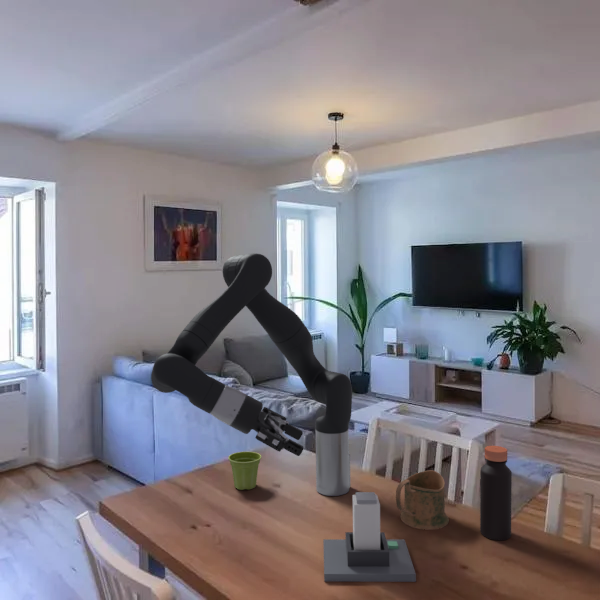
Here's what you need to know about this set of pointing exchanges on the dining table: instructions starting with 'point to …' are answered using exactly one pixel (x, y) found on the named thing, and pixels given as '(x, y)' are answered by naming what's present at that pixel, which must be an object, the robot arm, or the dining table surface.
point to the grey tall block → (366, 521)
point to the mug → (423, 501)
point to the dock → (367, 561)
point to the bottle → (495, 495)
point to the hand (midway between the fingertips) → (301, 443)
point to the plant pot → (245, 469)
